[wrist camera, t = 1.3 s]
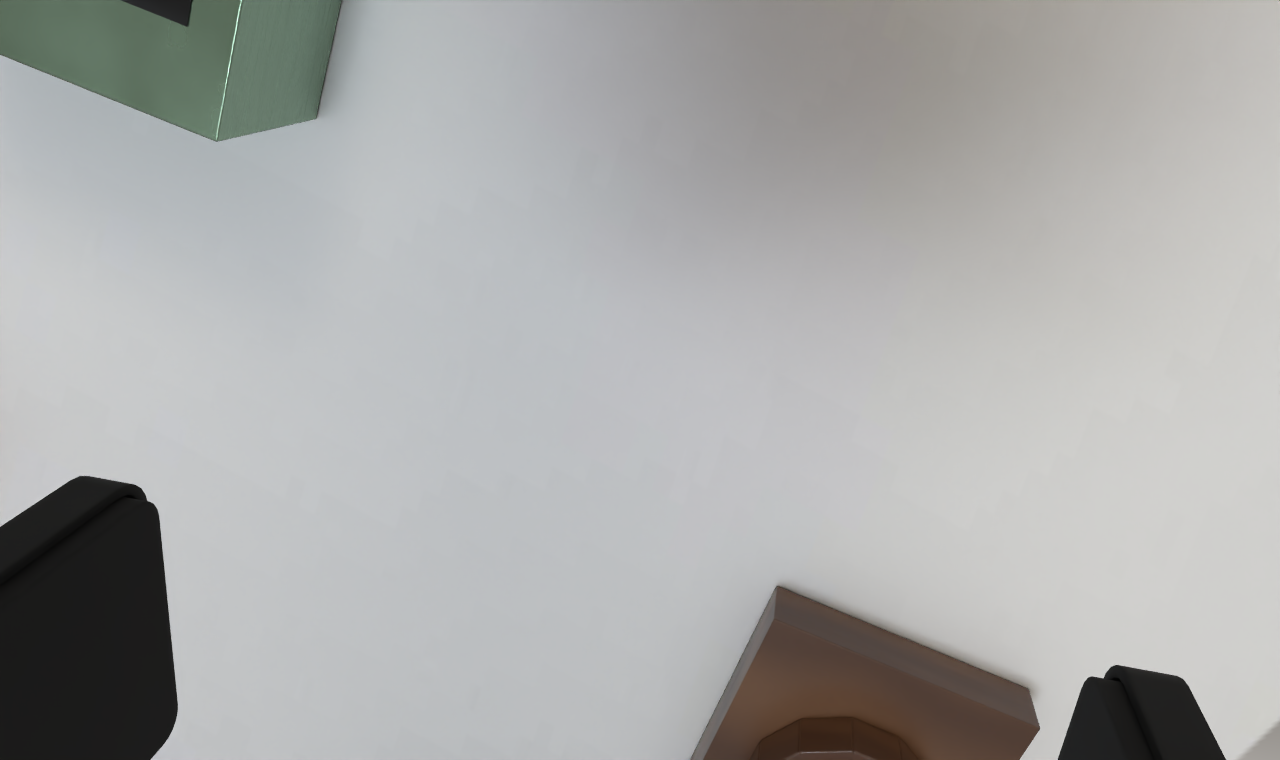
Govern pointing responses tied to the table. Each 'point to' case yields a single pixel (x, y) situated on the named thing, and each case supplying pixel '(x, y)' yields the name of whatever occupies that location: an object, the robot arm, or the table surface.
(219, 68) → the toaster
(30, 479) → the table surface
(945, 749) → the control block
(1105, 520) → the table surface
